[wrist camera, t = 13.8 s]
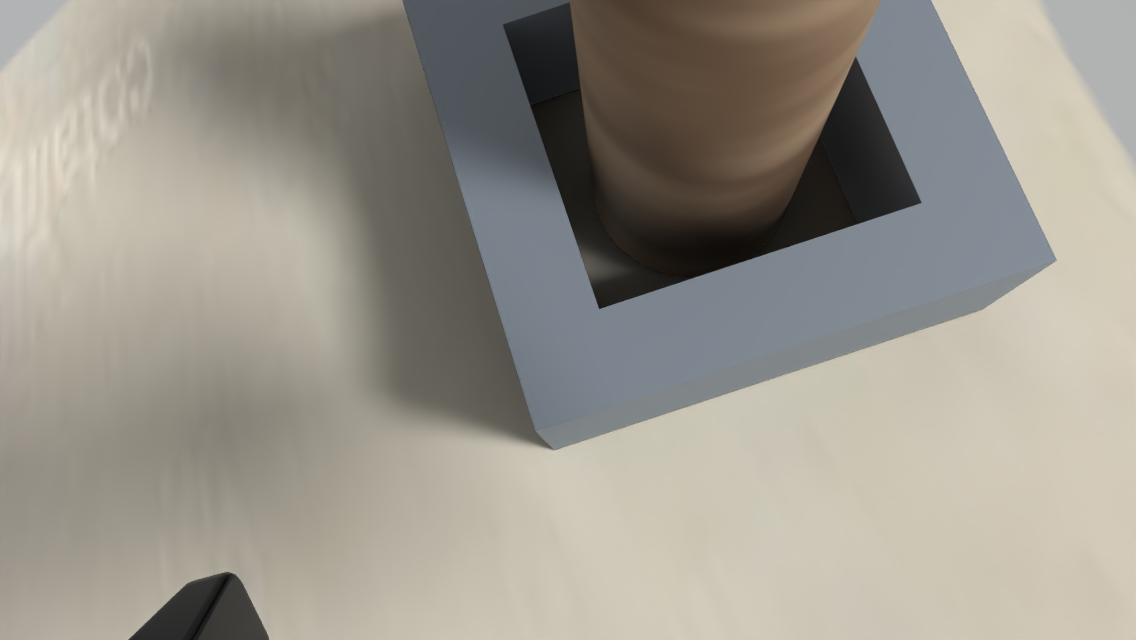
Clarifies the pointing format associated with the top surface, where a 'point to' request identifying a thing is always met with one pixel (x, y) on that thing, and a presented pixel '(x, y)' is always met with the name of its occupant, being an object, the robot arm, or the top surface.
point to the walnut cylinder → (706, 117)
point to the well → (748, 289)
